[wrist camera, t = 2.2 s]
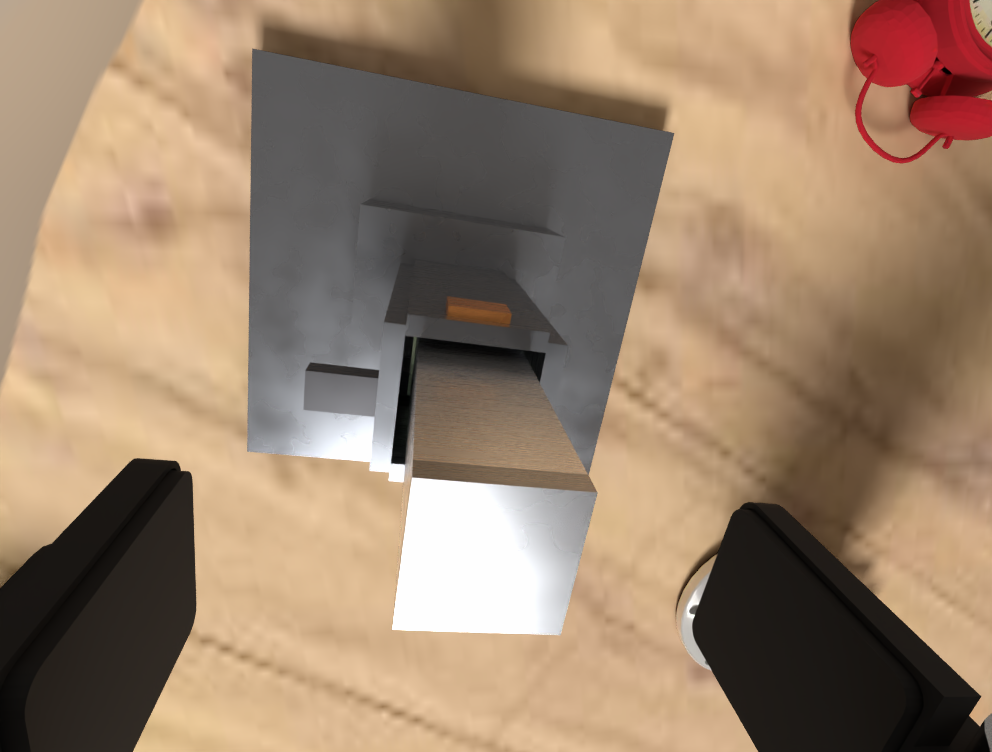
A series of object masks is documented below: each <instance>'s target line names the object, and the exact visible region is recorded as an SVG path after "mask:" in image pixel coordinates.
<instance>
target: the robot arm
mask: <svg viewBox="0 0 992 752" xmlns="http://www.w3.org/2000/svg"><path fill="white" fill-rule="evenodd" d="M195 614H196V580H195V547H194V515H193V483H192V475H191V473H190V472H189V471H181V469H180V466H179V463H178V462H176V461H168V460H154V459H140V458H137V459H133V460H132V461H131V462H129V463H128V464H127V466H126V467H125V468H124V469H123V470H122V471H121V472H120V473H119V474H118V475H117V476H116V477H115V478H114V479H113V480H112V481H111V482H110V483H109V484H108V485H107V486H106V488H105V489H104V490H103V491H102V492H101V493H100V494H99V495H98V496H97V497H96V498H95V499H94V500H93V501H92V502H91V503H90V504H89V505H88V506H87V507H86V508H85V509H84V511H83V512H82V513H81V514H80V515H79V516H78V517H77V518H76V519H75V520H74V521H73V522H72V523H71V524H70V525H69V526H68V527H67V528H66V529H65V530H64V531H63V533H62V534H61V535H60V536H59V537H58V538H57V539H56V540H55V541H54V542H53V543H52V544H49V545H47V546H44V547H42V548H41V549H40V550H38V551H37V552H36V553H35V554H33V555H32V556H31V557H30V558H29V559H28V560H27V561H26V562H25V564H24V565H23V566H22V567H21V568H20V569H19V570H18V571H17V572H16V573H15V574H14V575H13V576H12V577H11V578H10V579H9V580H8V581H7V582H6V583H5V584H4V585H3V586H2V587H1V588H0V752H133V750H134V748H135V746H136V744H137V742H138V740H139V738H140V736H141V734H142V731H143V729H144V727H145V725H146V723H147V721H148V719H149V717H150V715H151V713H152V711H153V709H154V707H155V705H156V702H157V700H158V698H159V696H160V694H161V692H162V690H163V688H164V686H165V684H166V682H167V680H168V678H169V676H170V673H171V671H172V669H173V667H174V665H175V663H176V661H177V659H178V657H179V655H180V653H181V651H182V649H183V647H184V644H185V642H186V640H187V638H188V636H189V634H190V632H191V629H192V626H193V623H194V619H195ZM676 624H677V630H678V634H679V637H680V639H681V641H682V643H683V645H684V646H685V648H686V650H687V652H688V654H689V655H690V656H691V657H692V658H693V659H694V660H695V661H696V662H697V663H698V664H700V665H701V666H702V667H704V668H706V669H709V670H711V671H712V672H713V674H714V675H715V677H716V679H717V681H718V682H719V684H720V686H721V688H722V689H723V691H724V693H725V695H726V696H727V698H728V700H729V701H730V703H731V705H732V707H733V708H734V710H735V712H736V714H737V715H738V717H739V719H740V721H741V722H742V724H743V726H744V728H745V729H746V731H747V733H748V735H749V736H750V738H751V740H752V742H753V743H754V745H755V747H756V748H757V750H758V752H992V714H990V715H989V716H988V717H987V718H986V719H985V720H984V722H983V723H982V725H981V726H979V725H978V724H977V723H976V722H975V721H974V720H973V719H972V718H971V717H970V716H969V715H970V713H971V712H972V710H973V709H974V707H975V705H976V704H977V702H978V701H979V699H980V698H981V696H980V695H979V694H978V693H977V692H976V691H975V690H974V689H973V688H972V687H971V686H970V685H969V684H968V683H967V682H965V681H964V680H963V679H962V678H961V677H960V676H959V675H958V674H957V673H956V672H955V671H954V670H953V669H952V668H951V667H950V666H949V665H948V664H947V663H946V662H945V661H943V660H942V659H941V658H940V657H939V656H938V655H937V654H936V653H935V652H934V651H933V650H932V649H931V648H930V647H929V646H928V645H927V644H926V643H925V642H924V641H922V640H921V639H920V638H919V637H918V636H917V635H916V634H915V633H914V632H913V631H912V630H911V629H910V628H909V627H908V626H907V625H906V624H905V623H904V622H903V621H902V620H900V619H899V618H898V617H897V616H896V615H895V614H894V613H893V612H892V611H891V610H890V609H889V608H888V607H887V606H886V605H885V604H884V603H883V602H882V601H881V600H879V599H878V598H877V597H876V596H875V595H874V594H873V593H872V592H871V591H870V590H869V589H868V588H867V587H866V586H865V585H864V584H863V583H862V582H861V581H860V580H859V579H857V578H856V577H855V576H854V575H853V574H852V573H851V572H850V571H849V570H848V569H847V568H846V567H845V566H844V565H843V564H842V563H841V562H840V561H839V560H838V559H836V558H835V557H834V556H833V555H832V554H831V553H830V552H829V551H828V550H827V549H826V548H825V547H824V546H823V545H822V544H821V543H820V542H819V541H818V540H817V539H815V538H814V537H813V536H812V535H811V534H810V533H809V532H808V531H807V530H806V529H805V528H804V527H803V526H802V525H801V524H800V523H799V522H798V521H797V520H796V519H795V518H793V517H792V516H791V515H790V514H789V513H788V512H787V511H786V510H785V509H784V508H783V507H781V506H780V505H777V504H767V503H753V502H748V503H745V504H743V505H742V506H741V507H740V509H739V510H736V511H735V512H734V513H733V514H732V516H731V519H730V521H729V524H728V527H727V529H726V532H725V535H724V538H723V540H722V543H721V546H720V548H719V551H718V554H716V555H715V556H713V557H712V558H711V559H710V560H709V561H707V562H706V563H705V564H704V565H702V567H701V568H700V569H699V570H698V571H697V572H696V573H695V574H694V576H693V577H692V578H691V579H690V581H689V583H688V584H687V586H686V587H685V589H684V590H683V593H682V595H681V598H680V600H679V603H678V608H677V614H676Z"/></svg>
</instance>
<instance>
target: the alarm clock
mask: <svg viewBox="0 0 992 752" xmlns="http://www.w3.org/2000/svg"><path fill="white" fill-rule="evenodd" d="M851 51H852V54H853V58H854V60H855V63H856V65H857V66H858V68H859V70H860V71H861V73H862V74H863V75H864V76H865V77H866V78H867V80H866V82H865V84H864V86H863V88H862V90H861V92H860V95H859V98H858V101H857V104H856V110H855V116H856V124H857V127H858V130H859V132H860V134H861V135H862V137H863V139H864V140H865V141H866V143H867V144H868V145H869V146H870V147H871V148H872V149H873V151H875V152H876V153H878V154H879V155H880V156H882V157H883V158H885V159H887V160H889V161H892V162H895V163H907V162H911V161H913V160H915V159H917V158H919V157H920V156H922V155H923V154H924V153H926V152H927V151H928V150H929V149H930V148H931V147H932V146H933V145H934V144H935V143H936V142H937V141H938V140H939V139H940V138H944V139H946V140H945V142H944V144H943V146H942V147H943V148H945V149H948V148H949V147H950V145H951V143H952V141H953V139H954V140H976V139H982V138H988V137H990V136H992V101H991V100H986V99H981V98H975V97H974V96H978V95H981V94H984V93H987V92H989V91H991V90H992V0H879V1H877V2H875V3H874V4H872V5H871V6H870V7H869V8H868V9H867V10H865V12H864V13H863V14H862V15H861V16H860V17H859V18H858V20H857V21H856V23H855V26H854V28H853V31H852V33H851ZM871 82H872V83H875V84H877V85H880V86H884V87H895V86H901V85H905V84H907V85H909V86H910V87H911V88H912V89H911V91H910V92H911V93H912V94H913V95H914V96H915V97H916V98H917V97H919V96H920V95H921V94H923V95H926V96H928V97H926V98H920V99H919V100H917V101H915V102H914V104H913V107H912V109H911V113H910V121H911V123H912V125H913V126H914V127H916V128H917V129H918V130H919V131H921V132H924V133H926V134H929V135H932V136H935V137H934V138H933V139H932V140H931V141H930V142H929V143H928V144H927V145H926V146H925V147H924V148H923V149H921V150H920V151H919V152H918V153H916V154H914V155H912V156H911V157H908V158H898V157H894V156H891V155H890V154H888V153H886V152H885V151H883V150H882V149H881V148H880V147H879V146H877V145H876V144H875V143H874V141H873V140H872V139H871V138H870V136H869V135H868V133H867V131H866V129H865V127H864V125H863V122H862V117H861V110H862V104H863V100H864V97H865V94H866V92H867V90H868V88H869V86H870V84H871Z"/></svg>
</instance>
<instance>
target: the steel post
mask: <svg viewBox="0 0 992 752" xmlns="http://www.w3.org/2000/svg"><path fill="white" fill-rule="evenodd" d="M407 395H410V401H409V414H408V428H407V441H406V455H405V469H404V482H403V496H402V509H401V523H400V536H399V550H398V564H397V577H396V591H395V604H394V618H393V629H396V630H426V631H456V632H485V633H515V634H545V635H561V631H562V627H563V623H564V619H565V615H566V612H567V608H568V604H569V600H570V596H571V592H572V589H573V585H574V581H575V577H576V573H577V569H578V566H579V562H580V558H581V554H582V550H583V546H584V543H585V539H586V535H587V531H588V527H589V523H590V519H591V516H592V512H593V508H594V504H595V500H596V496H597V491H596V489H595V487H594V485H593V483H592V481H591V479H590V477H589V476H588V474H587V472H586V470H585V468H584V466H583V464H582V462H581V460H580V459H579V457H578V455H577V453H576V451H575V449H574V447H573V445H572V443H571V441H570V440H569V438H568V436H567V434H566V432H565V430H564V428H563V426H562V424H561V423H560V421H559V419H558V417H557V415H556V413H555V411H554V409H553V407H552V405H551V404H550V402H549V400H548V398H547V396H546V394H545V392H544V390H543V388H542V387H541V385H540V383H539V381H538V379H537V377H536V375H535V373H534V371H533V369H532V368H531V366H530V364H529V362H528V360H527V358H526V356H525V354H524V352H523V351H522V350H519V349H510V348H502V347H494V346H486V345H478V344H470V343H462V342H453V341H445V340H437V339H429V338H421V337H413V346H412V354H411V363H410V371H409V380H408V390H407Z"/></svg>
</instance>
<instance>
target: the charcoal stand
mask: <svg viewBox="0 0 992 752" xmlns="http://www.w3.org/2000/svg"><path fill="white" fill-rule="evenodd" d="M673 136H674V133H671V132H666V131H661V130H656V129H651V128H646V127H641V126H636V125H631V124H626V123H621V122H616V121H611V120H606V119H601V118H596V117H591V116H586V115H581V114H576V113H571V112H566V111H561V110H556V109H551V108H546V107H541V106H536V105H531V104H526V103H521V102H516V101H511V100H506V99H501V98H496V97H491V96H486V95H481V94H476V93H471V92H466V91H461V90H456V89H451V88H446V87H441V86H436V85H431V84H426V83H421V82H416V81H411V80H406V79H401V78H396V77H391V76H386V75H381V74H376V73H371V72H366V71H361V70H356V69H351V68H346V67H341V66H336V65H331V64H326V63H321V62H316V61H311V60H306V59H301V58H296V57H291V56H286V55H281V54H276V53H271V52H266V51H261V50H256V49H252V126H251V205H250V284H249V363H248V442H247V451H248V452H259V453H271V454H283V455H295V456H307V457H319V458H331V459H343V460H355V461H367V462H370V469H369V471H380V472H390V474H389V481H396V482H404V469H405V455H406V441H407V428H408V414H409V401H410V395H407V390H408V380H409V371H410V363H411V354H412V346H413V337H421V338H429V339H437V340H445V341H453V342H462V343H470V344H478V345H486V346H494V347H502V348H510V349H519V350H522V351H523V352H524V354H525V356H526V358H527V360H528V362H529V364H530V366H531V368H532V369H533V371H534V373H535V375H536V377H537V379H538V381H539V383H540V385H541V387H542V388H543V390H544V392H545V394H546V396H547V398H548V400H549V402H550V404H551V405H552V407H553V409H554V411H555V413H556V415H557V417H558V419H559V421H560V423H561V424H562V426H563V428H564V430H565V432H566V434H567V436H568V438H569V440H570V441H571V443H572V445H573V447H574V449H575V451H576V453H577V455H578V457H579V459H580V460H581V462H582V464H583V466H584V468H585V470H586V472H587V474H588V475H589V471H590V467H591V463H592V459H593V455H594V451H595V447H596V443H597V439H598V435H599V431H600V427H601V423H602V419H603V415H604V411H605V407H606V403H607V399H608V395H609V391H610V387H611V383H612V379H613V375H614V371H615V367H616V364H617V360H618V356H619V352H620V348H621V344H622V340H623V336H624V332H625V328H626V324H627V320H628V316H629V312H630V308H631V304H632V300H633V296H634V292H635V288H636V284H637V280H638V276H639V272H640V268H641V264H642V260H643V256H644V252H645V248H646V244H647V240H648V236H649V232H650V228H651V224H652V220H653V216H654V212H655V208H656V204H657V200H658V196H659V192H660V188H661V184H662V180H663V176H664V172H665V168H666V164H667V160H668V156H669V152H670V148H671V144H672V140H673Z"/></svg>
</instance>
